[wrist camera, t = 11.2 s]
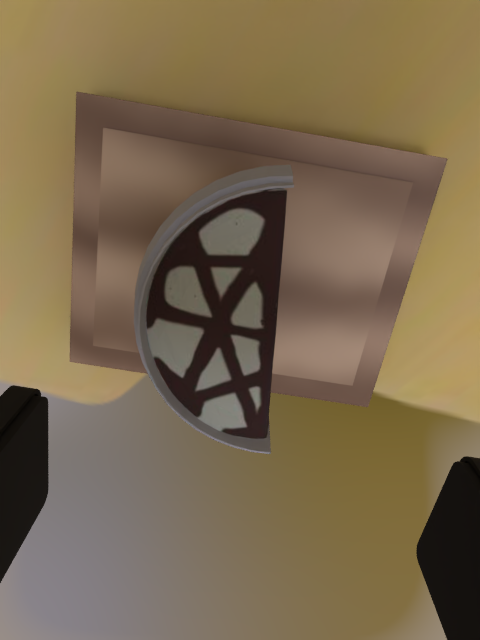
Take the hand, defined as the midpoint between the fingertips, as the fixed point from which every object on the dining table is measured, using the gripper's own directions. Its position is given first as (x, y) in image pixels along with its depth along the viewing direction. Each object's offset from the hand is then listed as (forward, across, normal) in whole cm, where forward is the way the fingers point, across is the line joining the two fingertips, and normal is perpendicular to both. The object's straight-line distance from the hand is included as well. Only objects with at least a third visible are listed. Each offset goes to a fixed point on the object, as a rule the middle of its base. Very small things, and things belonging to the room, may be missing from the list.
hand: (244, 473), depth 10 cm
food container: (+18, +2, 0) cm, 18 cm away
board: (+21, +1, +1) cm, 21 cm away
